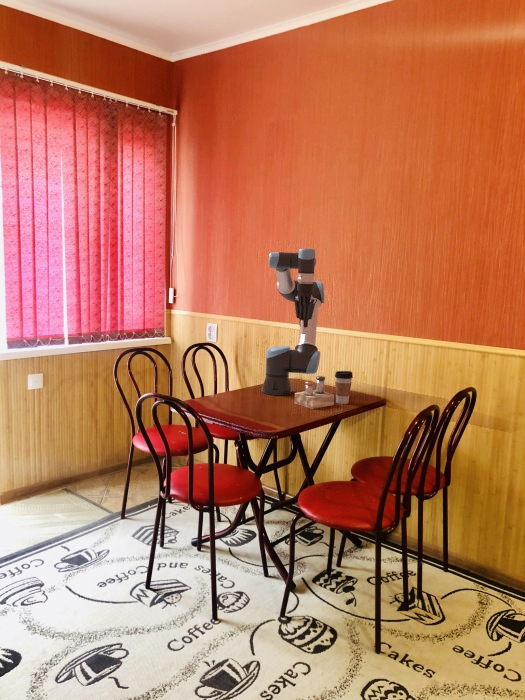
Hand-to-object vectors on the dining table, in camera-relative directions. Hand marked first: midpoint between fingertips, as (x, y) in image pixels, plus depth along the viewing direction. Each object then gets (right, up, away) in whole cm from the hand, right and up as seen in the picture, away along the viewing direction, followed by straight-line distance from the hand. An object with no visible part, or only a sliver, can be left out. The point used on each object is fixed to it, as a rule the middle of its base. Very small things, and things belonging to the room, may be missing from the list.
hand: (303, 334), depth 263 cm
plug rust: (+3, -31, +1) cm, 31 cm away
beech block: (+5, -33, +4) cm, 33 cm away
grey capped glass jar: (+8, -29, +6) cm, 31 cm away
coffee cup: (+19, -33, +10) cm, 39 cm away
